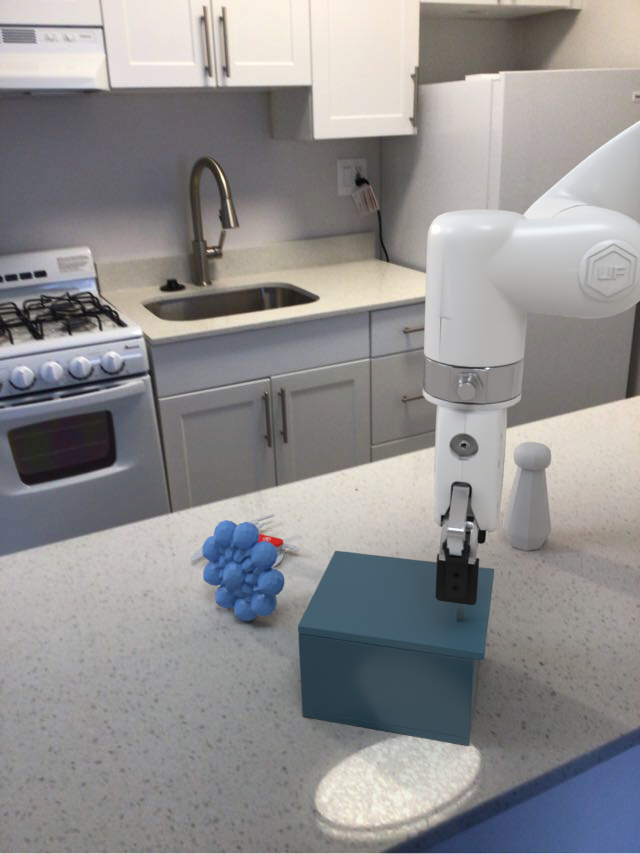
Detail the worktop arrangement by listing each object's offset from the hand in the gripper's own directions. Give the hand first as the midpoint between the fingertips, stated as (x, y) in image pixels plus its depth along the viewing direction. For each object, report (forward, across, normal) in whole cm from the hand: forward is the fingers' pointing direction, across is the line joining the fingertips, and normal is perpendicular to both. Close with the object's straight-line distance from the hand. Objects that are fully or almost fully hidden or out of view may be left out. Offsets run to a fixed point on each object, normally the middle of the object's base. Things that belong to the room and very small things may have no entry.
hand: (462, 568), depth 64 cm
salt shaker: (+13, +29, -6) cm, 32 cm away
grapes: (+14, +7, +22) cm, 27 cm away
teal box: (+13, 0, +6) cm, 14 cm away
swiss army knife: (+14, +20, +26) cm, 36 cm away
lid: (+4, 0, +5) cm, 7 cm away
